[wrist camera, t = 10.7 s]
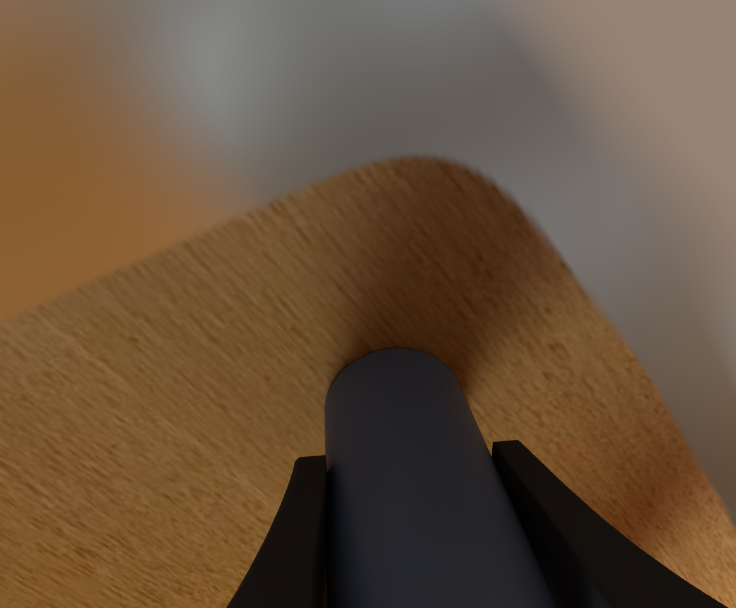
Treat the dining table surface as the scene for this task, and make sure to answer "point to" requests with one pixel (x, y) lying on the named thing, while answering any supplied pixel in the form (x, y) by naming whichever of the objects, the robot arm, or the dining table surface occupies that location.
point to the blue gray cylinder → (418, 495)
